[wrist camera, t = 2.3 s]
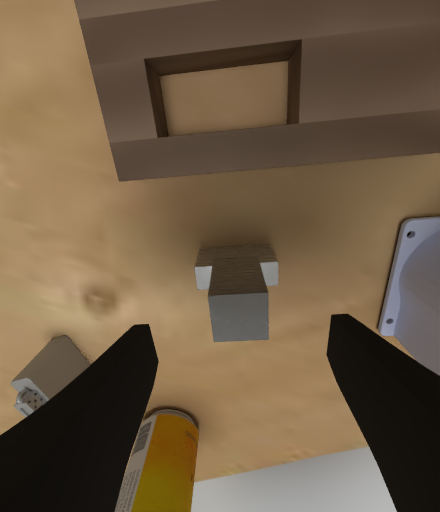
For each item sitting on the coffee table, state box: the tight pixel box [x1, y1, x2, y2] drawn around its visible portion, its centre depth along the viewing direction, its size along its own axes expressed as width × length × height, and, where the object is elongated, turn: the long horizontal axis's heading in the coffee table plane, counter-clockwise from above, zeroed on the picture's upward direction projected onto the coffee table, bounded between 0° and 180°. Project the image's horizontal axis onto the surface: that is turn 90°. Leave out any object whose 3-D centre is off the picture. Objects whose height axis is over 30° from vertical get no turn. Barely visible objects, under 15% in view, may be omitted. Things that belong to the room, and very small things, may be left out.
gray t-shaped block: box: [194, 244, 278, 342], centre depth 14 cm, size 3×5×7 cm, turn 95°
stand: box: [74, 0, 440, 182], centre depth 11 cm, size 12×18×2 cm, turn 95°
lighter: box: [11, 335, 90, 418], centre depth 18 cm, size 7×2×8 cm, turn 21°
